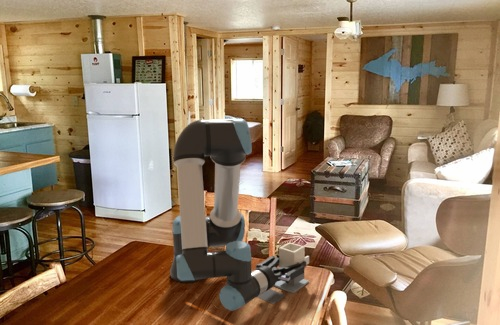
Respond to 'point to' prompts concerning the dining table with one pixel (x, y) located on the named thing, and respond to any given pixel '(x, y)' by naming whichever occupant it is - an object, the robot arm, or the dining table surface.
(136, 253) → the dining table surface
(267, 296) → the mat
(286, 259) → the sleeve
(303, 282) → the pin board
